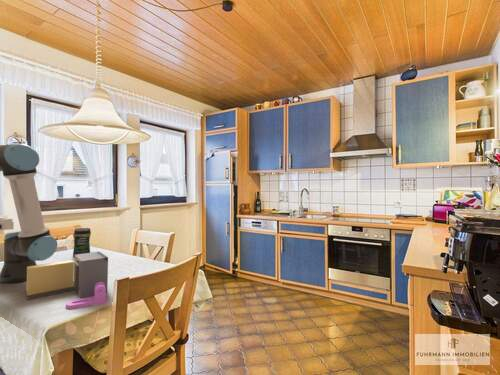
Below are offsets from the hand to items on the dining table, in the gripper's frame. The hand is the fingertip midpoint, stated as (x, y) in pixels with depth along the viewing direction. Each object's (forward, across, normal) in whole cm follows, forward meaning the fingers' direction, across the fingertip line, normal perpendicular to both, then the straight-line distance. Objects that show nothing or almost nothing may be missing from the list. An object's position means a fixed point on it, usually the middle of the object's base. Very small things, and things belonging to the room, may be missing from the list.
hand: (13, 223), depth 108 cm
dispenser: (+26, +10, -30) cm, 41 cm away
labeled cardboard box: (+13, 0, -29) cm, 32 cm away
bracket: (+21, +24, -30) cm, 44 cm away
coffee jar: (+36, -59, -30) cm, 75 cm away
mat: (+14, 0, -30) cm, 33 cm away
